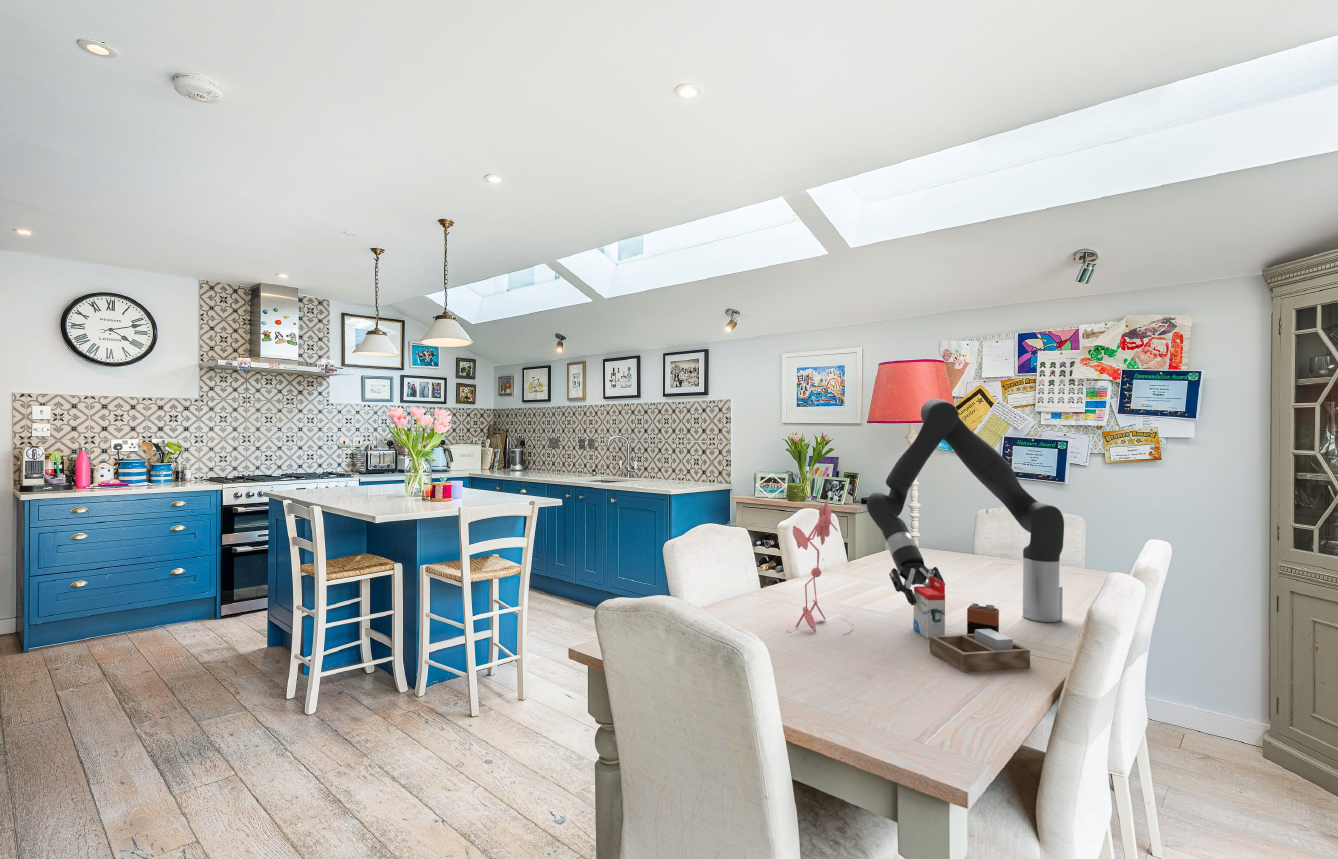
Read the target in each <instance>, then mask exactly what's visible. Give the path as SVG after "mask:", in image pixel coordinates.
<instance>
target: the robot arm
mask: <svg viewBox="0 0 1338 859" xmlns="http://www.w3.org/2000/svg"><path fill="white" fill-rule="evenodd" d="M920 417H921V421H922V422H923V424H922V425H921V428H920V430H919V432H918V433H917V436H916V437H915V439H914V440H913V442H912V443H911V444H910V446H909V447H908V448H907V449H906V450H905V451H904V452H903V454H902V455H900V457H899V458H898V460H897V461H896V462H895V464H894V466H893V467H892V469H891V471H890V472H889V474H888V475H887V477H886V480H885V484H886V486H887V487H889V490H890V491H889V493H888V495H887V494H885V493H883V492H874V493H871V494H870V495H869V496H868V498H867V501H866V509H867V512H868V513H869V516H870V517H871V518H872V520H873V522H874V523H875V524H876V526H877V527H878V528H879V530H880V531H881V533H882V535H883V537H884V539H885V542H886V544H887V548H888V551H889V553H890V555H891V558H892V561H893V563H894V564H895V567H896V568H895V567H893V568H892V569H891V570H890V572H889V573H888V574H889V575H888V576H889V578H890V580H891V582H892V584H893V586H894V589H895V591H896V592H898V593H899V592H900V593H903V594H904V596H905V599H906V600H907V602H908V604H910V606H914V605H915V604H916V602H917V600H916V598H915V596H914V590H912V589H911V586H916V585H918V586H919V585H922V586H928V587H930V580H929V577H930V576H932V577H934V578H936V579H938V580H940V581H942V582H944V583H945V581H944V578H943V577H942V575H941V573H940V570H939V568H938V567H937V566H934V567H933V568H928V567H927V566H926V565H925V561H924V558H923V556H922V554H921V552H920V549H919V547H918V545H917V544H916V541H915V539H914V538H913V537H912V535H911V534H910V533H911V532H910V531H909V529H908V527H907V524H906V523H905V521H904V520H903V519H902V518H900V517H899V516H900V515H901V513H902V512H903V510H904V507H905V503H906V500H907V496H908V493H909V490H910V489H911V486H912V485H913V484H914V482H915V480H916V479H917V477H918V475H919V474H920V472H921V471H922V469H923V467H924V466H925V464H926V463H927V461H928V460H929V458H930V457H931V456H932V454H933V452H934V451H935V450H936V449H937V448H938V446H939V445H940V443H941V442H943V441H945V443H946V444H948V445H949V446H950V448H951V449H952V450H953V451H954V453H955V454H956V455H957V457H958V458H959V460H960V461H961V462H962V463H963V465H964V466H965V467H967V469H968V470H969V471H970V473H972V475H973V476H975V477H976V478H977V480H978V481H979V482H980V483H981V484H982V485H983V486H984V487H986V489H987V490H988V491H990V492H991V493H992V495H993V496H994V497H995V498H997V499H998V500H999V501H1000V502H1001V503H1002V505H1004V506H1005V507H1006V509H1007V510H1008V512H1009V513H1010V514H1011V515H1012V516H1013V517H1014V519H1015V521H1017V523H1018V525H1020V526H1021V528H1022V529H1023V530H1025V531H1026V532H1028V533H1030V537H1029V538H1030V540H1029V544H1028V545H1027V546H1026V545H1025V547H1024V548H1023V550H1022V616H1023V617H1024V618H1025V619H1027V620H1031V621H1036V622H1040V623H1041V622H1043V623H1056V622H1059V621H1062V620H1063V594H1064V593H1063V586H1061V585H1060V583H1061V582H1060V573H1061V572H1060V570H1061V569H1060V567H1061V566H1060V563H1061V562H1060V560H1061V559H1060V558H1061V557H1060V556H1061V554H1062V552H1063V548H1064V538H1065V534H1064V533H1065V521H1064V515H1063V513H1062V512H1061V510H1060V509H1059V508H1058V507H1056V506H1054V505H1052V504H1048V503H1042V502H1039V501H1038V500H1036V499H1035V498H1034V497H1033V496H1032V495H1031V494H1029V492H1027V491H1026V490H1025V489H1024V487H1023V486H1022V485H1021V484H1020V482H1019V480H1018V478H1017V476H1016V473H1015V471H1014V470H1013V468H1012V467H1011V465H1010V463H1009V462H1008V461H1007V460H1006V459H1005V458H1004V457H1003V456H1002V455H1001V454H1000V453H999V452H998V451H997V450H996V449H995V448H994V447H992V445H990V444H989V443H988V442H987V441H985V440H984V439H983V438H982V437H980V436H979V435H978V434H977V433H975V432H973V431H972V430H971V429H970V427H968V426H967V425H966V423H965V422H964V421H963V420H962V419H961V417H959V411H958V409H957V407H956V406H955V405H954V404H953V403H951V402H949V401H948V400H945V399H942V398H932V399H929V400H927V401H926V402H925V403H924V404H923V405H922V407H921V410H920ZM901 578H902V579H904V583H903V582H902V579H901ZM927 580H928V581H927ZM945 584H946V583H945ZM935 585H937V586H939V584H938V583H937V582H936V583H935Z"/></svg>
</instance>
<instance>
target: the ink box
mask: <svg viewBox="0 0 1338 859" xmlns="http://www.w3.org/2000/svg"><path fill="white" fill-rule="evenodd" d="M929 580H930V587H928V586H924V585H922V586H919V585H918V586H916V585H915V586H913V593H914V596H915V598H916V600H917V602H916V604H915V605H913V622H912V623H913V628H912V629H913V630H914V631H916V632H917V633H919V634H920V635H922V636H923V637H924V638H925V639H929V640H930V636H944V635H946V631H945V630H946V628H945V627H946V583H944V582H945V581H944V582H942V581H940V580H938V579H936V578H934V577H932V576H930V577H929ZM936 582H937V583H938V584H939V586H937V585H935V583H936Z"/></svg>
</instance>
